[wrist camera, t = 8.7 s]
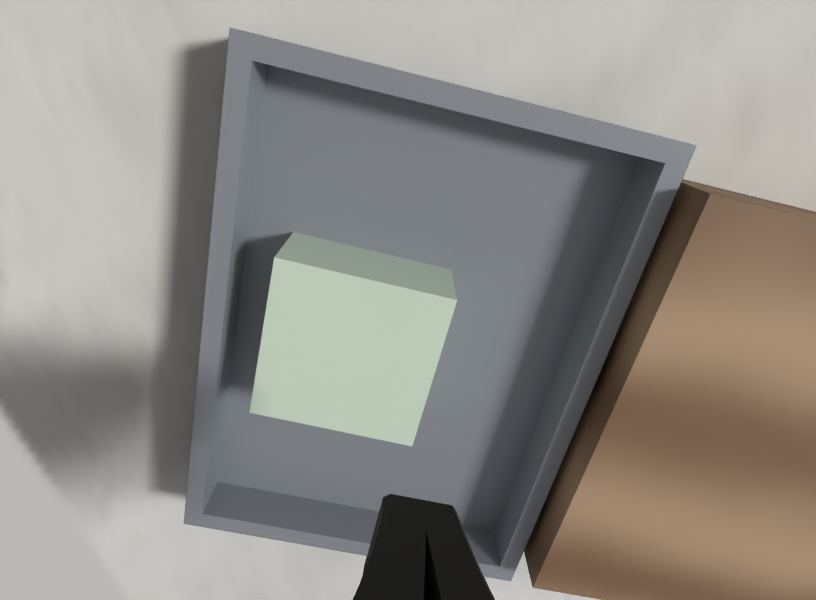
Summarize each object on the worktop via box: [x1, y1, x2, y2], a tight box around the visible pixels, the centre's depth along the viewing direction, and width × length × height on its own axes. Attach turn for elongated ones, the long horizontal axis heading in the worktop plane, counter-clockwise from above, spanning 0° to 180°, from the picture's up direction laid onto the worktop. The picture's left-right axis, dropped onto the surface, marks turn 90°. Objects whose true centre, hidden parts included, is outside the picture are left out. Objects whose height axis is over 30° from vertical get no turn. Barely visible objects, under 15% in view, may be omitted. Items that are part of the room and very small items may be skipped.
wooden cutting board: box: [524, 179, 816, 600], centre depth 18 cm, size 14×14×3 cm
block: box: [249, 232, 457, 446], centre depth 16 cm, size 5×5×2 cm
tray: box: [184, 28, 697, 581], centre depth 17 cm, size 16×12×2 cm
